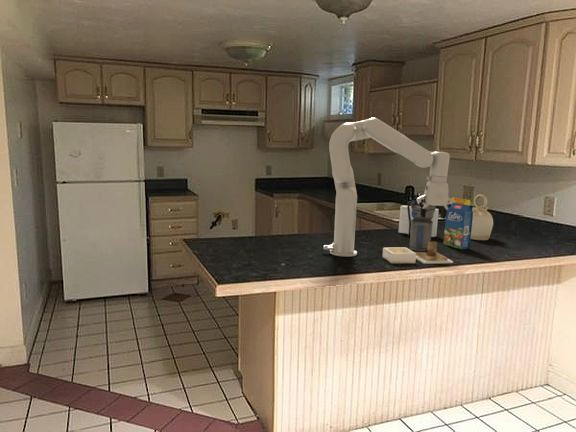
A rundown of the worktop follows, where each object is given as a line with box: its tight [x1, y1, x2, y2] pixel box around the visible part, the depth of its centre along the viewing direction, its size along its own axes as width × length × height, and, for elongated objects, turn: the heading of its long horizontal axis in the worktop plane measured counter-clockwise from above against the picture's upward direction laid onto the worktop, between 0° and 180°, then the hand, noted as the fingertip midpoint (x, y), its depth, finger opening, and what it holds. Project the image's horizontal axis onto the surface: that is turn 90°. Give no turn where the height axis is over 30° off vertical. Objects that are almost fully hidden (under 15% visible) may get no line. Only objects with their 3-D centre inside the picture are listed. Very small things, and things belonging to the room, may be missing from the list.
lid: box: [415, 240, 449, 261], centre depth 211 cm, size 10×10×7 cm
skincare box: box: [398, 205, 440, 238], centre depth 267 cm, size 21×6×16 cm, turn 58°
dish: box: [382, 246, 417, 264], centre depth 208 cm, size 11×11×4 cm
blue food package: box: [442, 197, 473, 250], centre depth 238 cm, size 6×12×25 cm, turn 28°
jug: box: [471, 194, 494, 241], centre depth 261 cm, size 15×16×25 cm
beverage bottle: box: [406, 200, 437, 252], centre depth 228 cm, size 10×13×25 cm
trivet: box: [416, 255, 454, 265], centre depth 212 cm, size 14×14×1 cm
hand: (432, 217), depth 209 cm, fingers open, 9 cm apart
